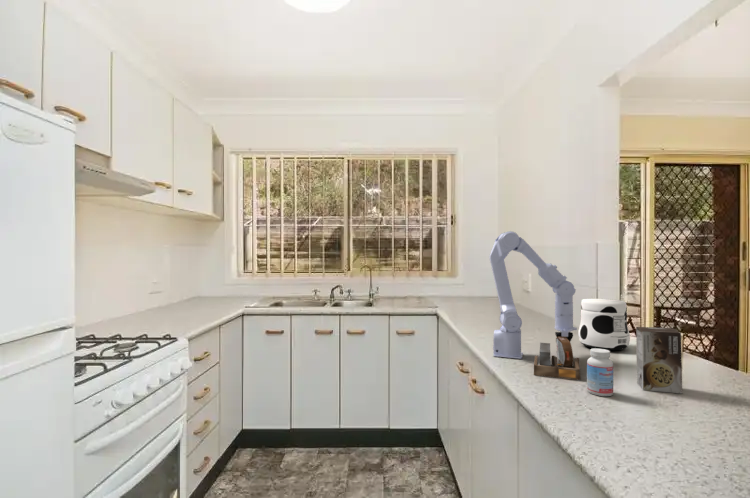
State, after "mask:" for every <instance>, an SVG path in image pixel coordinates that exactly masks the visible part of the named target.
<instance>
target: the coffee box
mask: <svg viewBox="0 0 750 498" xmlns="http://www.w3.org/2000/svg"><path fill="white" fill-rule="evenodd" d="M635 328H636V329H635V330H636V331H635V332H636V337H635V338H636V339H635V340H636V341H635V342H636V384H637V385H638V386H639V388H640V389H641V390H642V391H647V392H648V391H649V392H659V393H662V392H663V393H671V394H683V371H682V369H683V368H682V333H681V332H680V331H678V330H677V329H675V328H673V327H670V328H669V327H650V326H649V327H647V326H636V327H635Z"/></svg>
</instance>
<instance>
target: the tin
mask: <svg viewBox="0 0 750 498" xmlns="http://www.w3.org/2000/svg"><path fill="white" fill-rule="evenodd" d="M555 343H556V357H557V361H558V362H560V363H559V364H562V365H563V366H562V365H561V366H562V367H564V368H574V353H573V352H574V351H573V346H572V343H571V341H569V340H568V339H567V338H566V337H556V336H555Z"/></svg>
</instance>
